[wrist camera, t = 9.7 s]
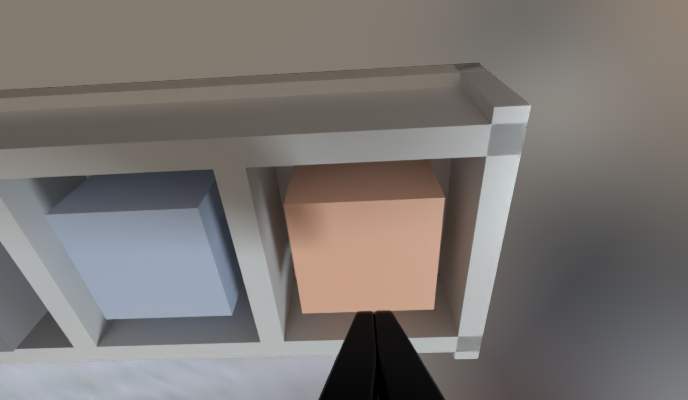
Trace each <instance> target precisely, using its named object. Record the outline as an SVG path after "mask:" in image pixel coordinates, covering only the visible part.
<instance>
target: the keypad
mask: <svg viewBox="0 0 688 400" xmlns="http://www.w3.org/2000/svg"><path fill="white" fill-rule="evenodd" d="M530 109H531V105H530V104H529V103H528V102H527V101H525V100H524V99H523V98H522V97H521V96H519V95H518V94H517V93H515V92H514V91H513V90H512V89H510V88H509V87H508V86H507V85H506V84H504V83H503V82H502V81H501V80H499V79H498V78H497V77H496V76H495V75H493V74H492V73H491V72H489V71H488V70H487V69H486V68H484V67H483V66H482V65H481V64H480V63H466V64H448V65H432V66H415V67H414V66H413V67H396V68H378V69H361V70H343V71H326V72H309V73H291V74H274V75H256V76H239V77H221V78H205V79H188V80H169V81H153V82H134V83H117V84H101V85H82V86H65V87H48V88H30V89H13V90H0V241H1V243H2V244H3V246H4V247H5V249H6V250H7V252H8V253H9V254H10V256H11V257H12V259H13V260H14V262H15V263H16V265H17V266H18V267H19V269H20V270H21V272H22V273H23V275H24V276H25V277H26V279H27V280H28V282H29V283H30V285H31V286H32V288H33V289H34V290H35V292H36V293H37V295H38V296H39V298H40V299H41V301H42V302H43V303H44V305H45V306H46V308H47V309H48V311H47V313H46V314H45V315H44V316H43V317H42V318H41V320H40V321H39V322H38V323H37V324H36V326H35V327H34V328H33V329H32V330H31V331H30V333H29V334H28V335H27V336H26V337H25V338H24V340H23V341H22V342H21V343H20V344H19V345H18V347H17V348H16V349H15V350H14V351H13V352H0V364H16V363H54V362H92V361H130V360H168V359H205V358H243V357H281V356H319V355H338V353H339V351H340V349H341V346H342V344H343V342H344V339H345V337H346V335H347V332H348V330H349V328H350V325H351V323H352V321H353V318H354V316H355V314H356V313H357V312H337V313H305V314H302V308H301V303H300V297H299V291H298V285H297V279H296V274H295V268H294V262H293V256H292V250H291V245H290V239H289V233H288V227H287V221H286V216H285V210H284V201H285V198H286V194H287V190H288V186H289V182H290V179H291V175H292V171H293V167H294V165H314V164H335V163H357V162H378V161H399V160H420V159H430V161H431V164H432V166H433V169H434V172H435V174H436V177H437V179H438V182H439V184H440V187H441V189H442V192H443V194H444V197H445V202H444V212H443V222H442V232H441V242H440V253H439V263H438V273H437V283H436V293H435V303H434V310H402V311H392V312H393V314H394V315H395V317H396V318H397V320H398V322H399V323H400V325H401V327H402V328H403V330H404V332H405V333H406V335H407V337H408V338H409V340H410V342H411V343H412V345H413V346H414V348H415V350H416V351H417V353H433V352H453V355H454V359H477V358H478V355H479V350H480V345H481V340H482V336H483V331H484V326H485V322H486V317H487V312H488V308H489V303H490V298H491V293H492V289H493V284H494V279H495V275H496V270H497V265H498V260H499V255H500V250H501V246H502V241H503V237H504V232H505V227H506V222H507V218H508V213H509V208H510V203H511V198H512V194H513V189H514V185H515V180H516V175H517V170H518V166H519V161H520V156H521V151H522V147H523V142H524V137H525V132H526V128H527V123H528V118H529V114H530ZM209 169H213V171H214V175H215V179H216V182H217V186H218V190H219V193H220V197H221V200H222V204H223V208H224V211H225V215H226V219H227V222H228V226H229V230H230V233H231V237H232V240H233V244H234V248H235V251H236V255H237V259H238V262H239V266H240V269H241V273H242V277H243V280H244V281H243V284H242V287H241V290H240V293H239V296H238V299H237V302H236V305H235V308H234V311H233V314H232V316H200V317H168V318H136V319H106V318H105V316H104V315H103V313H102V311H101V309H100V308H99V306H98V304H97V303H96V301H95V299H94V298H93V296H92V294H91V292H90V291H89V289H88V287H87V286H86V284H85V282H84V280H83V279H82V277H81V275H80V274H79V272H78V270H77V269H76V267H75V265H74V263H73V262H72V260H71V258H70V257H69V255H68V253H67V251H66V250H65V248H64V246H63V245H62V243H61V241H60V240H59V238H58V236H57V234H56V233H55V231H54V229H53V228H52V226H51V224H50V222H49V221H48V219H47V217H46V216H45V214H46V213H48V212H49V211H50V210H51V209H52V208H53V207H55V206H56V205H57V204H58V203H59V202H61V201H62V200H63V199H64V198H65V197H67V196H68V195H69V194H70V193H71V192H72V191H74V190H75V189H76V188H77V187H78V186H80V185H81V184H82V183H83V182H84V181H85V180H87V179H88V178H89V177H90V176H91V175H103V174H124V173H145V172H166V171H187V170H209ZM373 312H374V313H375V311H373Z"/></svg>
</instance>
